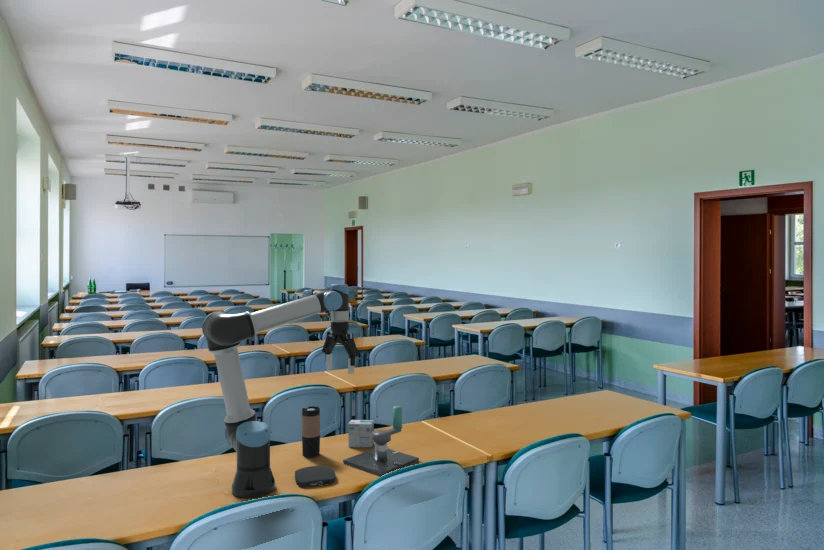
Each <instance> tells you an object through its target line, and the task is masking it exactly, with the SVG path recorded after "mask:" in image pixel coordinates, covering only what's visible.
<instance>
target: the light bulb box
mask: <svg viewBox="0 0 824 550" xmlns="http://www.w3.org/2000/svg"><path fill="white" fill-rule="evenodd" d="M374 424H375V423H374V420H373V419H351V420H350V421H349V422H348V424H347V426H348V427H347V428H348V429H347V433H348V437H347V438H348V448H368V447H369V449H370V448H372V447H373V445H375V442H372V441H371V432H373V431H375V430H374V429H375V427H374V426H375V425H374Z"/></svg>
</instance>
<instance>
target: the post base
mask: <svg viewBox="0 0 824 550" xmlns="http://www.w3.org/2000/svg"><path fill="white" fill-rule="evenodd" d="M419 462H420V459H419V457H418V456H414V455H410V454H408V453H405V452H404V453H403V452H401V451H399V450H393V449H390V448H388V442H386V443H375V442H374V448H372V449H370V450H367V451H364V452H361V453H357V454H356V455H353V456H350V457H346V458H344V459H342V464H343V463H344V464H343V465H346V464H347V466H349V465H350V467H353V468H355V469H357V470H361V471H364V472H367V473H369V474H372V475H376V476H378V477H381V476H382V475H384V474H386V473H389V472H391V471H394V470H396V469H399V468H402V467H404V468H406V467H405V466H407V467H408V465H409V466H411V465H414V464H416V463H419ZM402 469H403V468H402ZM399 470H400V469H399Z"/></svg>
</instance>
